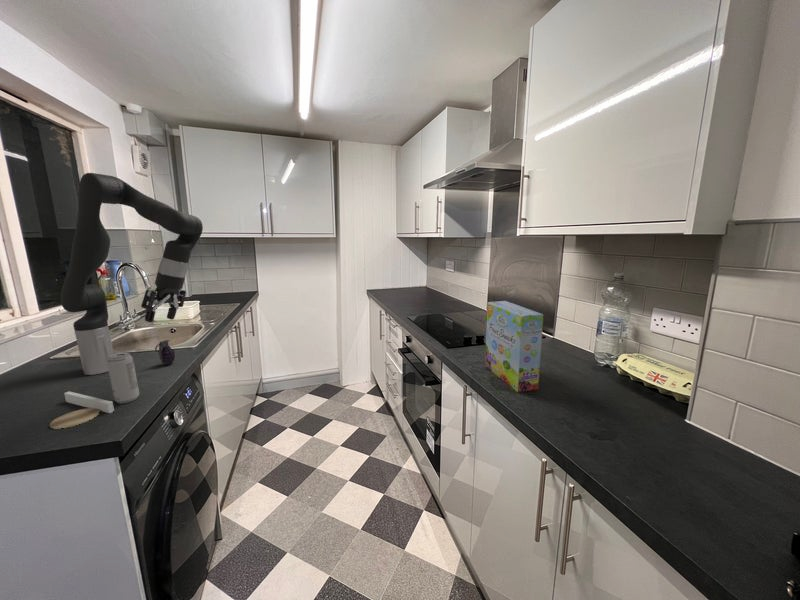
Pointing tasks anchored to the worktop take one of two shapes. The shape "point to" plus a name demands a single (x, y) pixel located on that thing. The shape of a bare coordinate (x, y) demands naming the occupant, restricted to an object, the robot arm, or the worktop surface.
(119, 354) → the energy drink can
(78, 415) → the cork coaster
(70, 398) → the white rectangular bar
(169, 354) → the hand grenade
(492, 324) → the snack box
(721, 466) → the worktop surface
